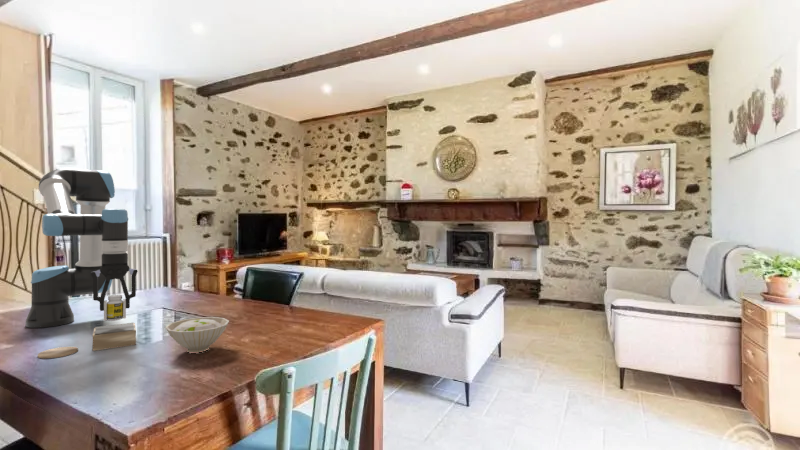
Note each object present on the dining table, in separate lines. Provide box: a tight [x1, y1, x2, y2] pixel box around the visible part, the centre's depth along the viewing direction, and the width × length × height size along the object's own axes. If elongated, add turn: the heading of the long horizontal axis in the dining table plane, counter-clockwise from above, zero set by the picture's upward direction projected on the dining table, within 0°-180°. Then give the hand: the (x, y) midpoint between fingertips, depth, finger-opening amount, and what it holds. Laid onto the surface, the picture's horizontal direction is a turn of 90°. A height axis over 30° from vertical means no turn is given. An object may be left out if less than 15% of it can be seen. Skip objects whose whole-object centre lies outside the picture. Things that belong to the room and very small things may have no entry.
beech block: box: [92, 322, 137, 352], centre depth 141 cm, size 12×12×5 cm
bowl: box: [165, 316, 230, 352], centre depth 135 cm, size 19×19×10 cm
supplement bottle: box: [106, 294, 123, 322], centre depth 141 cm, size 5×5×8 cm
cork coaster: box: [37, 346, 79, 360], centre depth 130 cm, size 10×10×1 cm
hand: (115, 318), depth 141 cm, fingers closed on supplement bottle, 5 cm apart
